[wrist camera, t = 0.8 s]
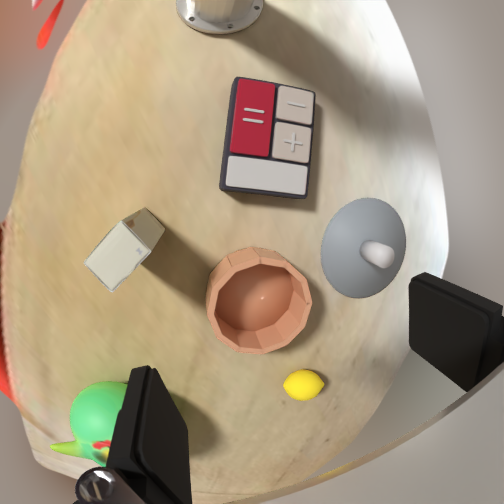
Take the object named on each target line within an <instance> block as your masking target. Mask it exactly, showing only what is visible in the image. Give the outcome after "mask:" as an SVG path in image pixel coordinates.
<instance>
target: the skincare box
mask: <svg viewBox="0 0 504 504" xmlns="http://www.w3.org/2000/svg"><path fill="white" fill-rule="evenodd" d="M164 231H165V228H164V227H163V226H162V225H161V224H160V223H159V221H158V220H157V219H156V218H155V217H154V216H153V215H152V214H151V213H150V212H149V211H148V210H147V209H146V208H145V207H144V208H142V209H140V210H139V211H137V212H135V213H133V214H132V215H130V216H128V217H127V218H125V219H123V220H121V221H119V222H118V223H117V224H116V225H115V226H114V227H113V228H112V229H111V230H110V231H109V232H108V233H107V235H106V236H105V237H104V238H103V239H102V240H101V241H100V243H99V244H98V245H97V246H96V247H95V249H94V250H93V251H92V252H91V254H90V255H89V256H88V257H87V259H86V260H85V261H84V264H85V265H86V266H87V267H88V268H89V270H90V271H91V272H92V273H93V274H94V275H95V276H96V277H97V279H98V280H99V281H100V282H101V283H102V284H103V285H104V286H105V287H106V288H107V289H108V290H109V291H110V292H114V291H115V290H116V288H117V287H118V286H119V285H120V284H121V283H122V282H123V281H124V280H125V279H126V278H127V277H128V276H129V275H130V274H131V273H132V272H133V271H134V270H135V269H136V267H137V266H138V265H139V264H140V263H141V262H142V261H143V260H144V259H145V258H146V257H147V256H148V255H149V254H150V253H151V252H152V250H153V248H154V247H155V245H156V244H157V242H158V240H159V239H160V237H161V236H162V234H163V233H164Z"/></svg>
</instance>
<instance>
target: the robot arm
mask: <svg viewBox="0 0 504 504" xmlns="http://www.w3.org/2000/svg"><path fill="white" fill-rule="evenodd" d="M262 7H263V0H176V9H177V12H178V15H179V16H180V18H181V19H182V20H183V21H184V22H185V23H186V24H187V25H188V26H190V27H192V28H194V29H196V30H198V31H201V32H205V33H211V34H228V33H234V32H237V31H240V30H243V29H245V28H247V27H248V26H250V25H251V24H253V23H254V22H255V21H256V19H257V18H258V17H259V15H260V13H261V10H262ZM502 309H503V306H502V305H500V304H498V303H496V302H493V301H491V300H489V299H487V298H485V297H482V296H480V295H478V294H475V293H473V292H471V291H469V290H466V289H464V288H462V287H459V286H457V285H455V284H452V283H450V282H448V281H445V280H443V279H441V278H438V277H436V276H433V275H431V274H429V273H426V272H424V273H421V274H419V275H417V276H415V277H413V278H412V279H411V282H410V283H409V345H410V347H411V349H412V350H413V351H415V352H416V353H417V354H419V355H420V356H421V357H422V358H424V359H425V360H426V361H428V362H429V363H430V364H431V365H433V366H434V367H435V368H436V369H438V370H439V371H440V372H442V373H443V374H444V375H446V376H447V377H448V378H449V379H451V380H452V381H453V382H454V383H456V384H457V385H458V386H459V387H461V388H462V389H463V390H465V391H466V392H467V393H466V394H464V395H463V396H462V397H461V398H459V399H458V400H456V401H455V402H454V403H453V404H451V405H450V406H448V407H447V408H445V409H444V410H442V411H441V412H440V413H438V414H437V415H435V416H434V417H432V418H431V419H429V420H428V421H426V422H424V423H423V424H421V425H420V426H418V427H416V428H415V429H413V430H412V431H410V432H408V433H406V434H405V435H403V436H401V437H400V438H398V439H396V440H394V441H392V442H391V443H389V444H387V445H385V446H383V447H381V448H379V449H377V450H375V451H374V452H372V453H370V454H368V455H365V456H363V457H361V458H359V459H357V460H355V461H353V462H351V463H348V464H346V465H344V466H342V467H339V468H337V469H334V470H332V471H330V472H327V473H324V474H322V475H320V476H317V477H314V478H312V479H309V480H306V481H303V482H300V483H297V484H294V485H291V486H288V487H285V488H282V489H278V490H275V491H271V492H268V493H264V494H261V495H257V496H253V497H249V498H245V499H241V500H237V501H233V502H228V503H223V504H504V317H503V316H502ZM75 494H76V497H77V499H78V500H77V501H76V502H74V503H73V504H192V495H191V481H190V465H189V446H188V430H187V426H186V423H185V422H184V420H183V418H182V416H181V415H180V413H179V411H178V409H177V407H176V405H175V404H174V402H173V400H172V398H171V396H170V394H169V392H168V391H167V389H166V387H165V385H164V383H163V381H162V379H161V377H160V375H159V373H158V371H157V369H156V368H153V369H151V367H150V366H148V365H147V366H142V367H138V368H133V369H132V371H131V374H130V378H129V381H128V385H127V389H126V392H125V396H124V400H123V404H122V408H121V410H119V412H118V415H117V419H116V423H115V427H114V431H113V435H112V440H111V444H110V448H109V453H108V458H107V462H106V467H95V468H92V469H89V470H87V471H86V472H84V473H83V474H82V475H81V476H80V477H79V479H78V480H77V483H76V485H75Z"/></svg>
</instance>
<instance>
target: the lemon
mask: <svg viewBox="0 0 504 504" xmlns="http://www.w3.org/2000/svg"><path fill="white" fill-rule="evenodd" d="M283 386H284V388H285V391H286V392H287V393H288V395H289V396H290V397H292V398H293V399H296V400H299V401H303V400H310V399H312V398H314V397H316V396H317V395H318V393H319V392H320V391H321V389H322V388H323V386H324V383H323V381H322V380H321V379H320V377H319V376H318V375H317V374H316V373H314V372H312V371H310V370H302V369H301V370H298V371H295V372H293V373H291V374H290V375H289V376H288V377H287V379H286V380H285V382H284V384H283Z"/></svg>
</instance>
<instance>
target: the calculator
mask: <svg viewBox="0 0 504 504" xmlns="http://www.w3.org/2000/svg"><path fill="white" fill-rule="evenodd" d="M314 110H315V92H313V91H310V90H306V89H302V88H297V87H293V86H288V85H283V84H278V83H273V82H268V81H262V80H256V79H250V78H244V77H236V78H235V79H234V81H233V84H232V88H231V95H230V102H229V110H228V117H227V125H226V133H225V142H224V150H223V158H222V165H221V174H220V183H219V188H220V190H222V191H232V192H241V193H251V194H260V195H269V196H277V197H285V198H293V199H305V198H306V197H307V193H308V183H309V173H310V162H311V150H312V138H313V125H314Z"/></svg>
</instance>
